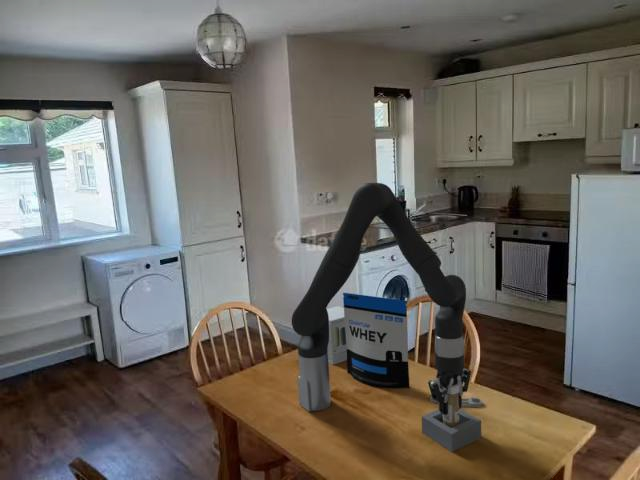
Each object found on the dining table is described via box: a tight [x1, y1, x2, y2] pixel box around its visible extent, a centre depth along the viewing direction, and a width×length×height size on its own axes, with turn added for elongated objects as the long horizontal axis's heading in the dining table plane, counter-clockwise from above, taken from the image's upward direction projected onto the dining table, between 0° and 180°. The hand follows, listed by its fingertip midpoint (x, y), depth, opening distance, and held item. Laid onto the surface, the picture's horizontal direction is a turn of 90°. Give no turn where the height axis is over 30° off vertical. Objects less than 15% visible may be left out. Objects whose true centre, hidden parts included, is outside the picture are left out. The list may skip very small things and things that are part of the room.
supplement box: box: [326, 305, 347, 366], centre depth 189 cm, size 13×13×18 cm
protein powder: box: [342, 292, 410, 390], centre depth 164 cm, size 10×24×30 cm, turn 54°
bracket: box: [429, 394, 483, 408], centre depth 149 cm, size 8×2×15 cm
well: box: [421, 408, 482, 453], centre depth 131 cm, size 11×11×5 cm
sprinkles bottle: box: [442, 384, 459, 428], centre depth 130 cm, size 5×5×13 cm
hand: (450, 410), depth 131 cm, fingers closed on sprinkles bottle, 4 cm apart
